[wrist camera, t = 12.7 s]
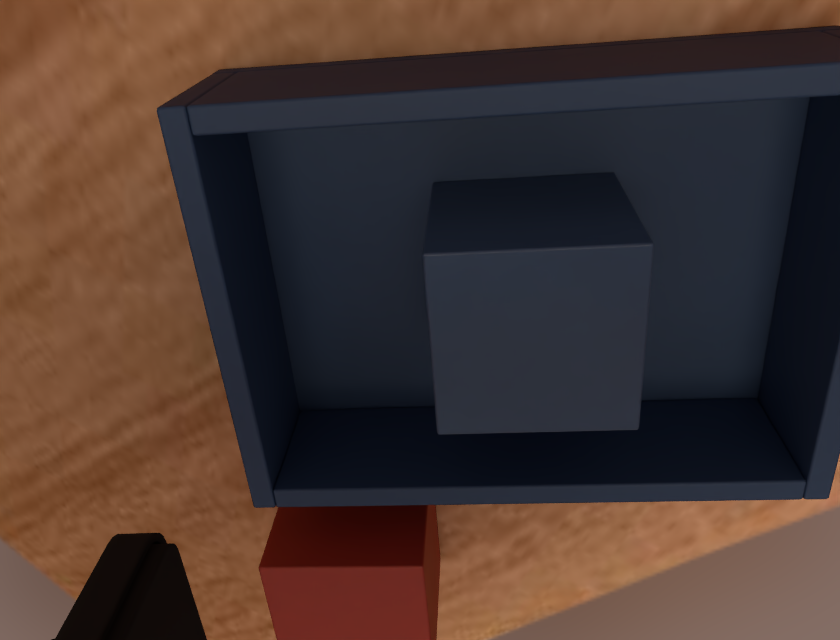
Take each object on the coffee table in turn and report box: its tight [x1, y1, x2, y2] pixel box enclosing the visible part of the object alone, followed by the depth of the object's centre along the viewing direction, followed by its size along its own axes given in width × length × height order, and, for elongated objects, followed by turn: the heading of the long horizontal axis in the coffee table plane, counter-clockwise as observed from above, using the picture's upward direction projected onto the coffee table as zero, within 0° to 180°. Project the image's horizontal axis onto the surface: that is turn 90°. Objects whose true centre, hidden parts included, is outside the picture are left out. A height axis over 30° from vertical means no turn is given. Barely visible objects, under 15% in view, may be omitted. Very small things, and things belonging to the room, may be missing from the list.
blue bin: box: [157, 26, 840, 508], centre depth 18 cm, size 14×10×4 cm
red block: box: [259, 505, 440, 640], centre depth 22 cm, size 4×4×4 cm
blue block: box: [422, 173, 654, 435], centre depth 17 cm, size 4×4×4 cm
